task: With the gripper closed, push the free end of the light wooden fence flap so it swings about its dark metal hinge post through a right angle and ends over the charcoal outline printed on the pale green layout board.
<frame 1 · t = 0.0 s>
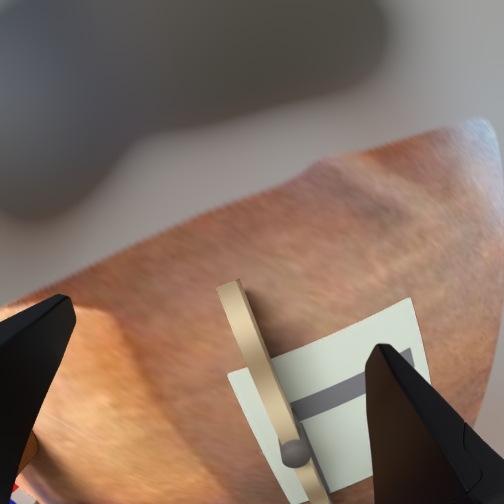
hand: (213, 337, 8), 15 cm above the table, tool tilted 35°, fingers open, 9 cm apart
disposable coffee cup: (20, 432, 21), on the table
puzzle toy: (15, 496, 20), on the table
fence flap: (264, 372, 18), point 4 cm above the table, hinge at 0.0°
fixed fence panel: (306, 461, 21), resting on layout board
layout board: (350, 416, 22), on the table
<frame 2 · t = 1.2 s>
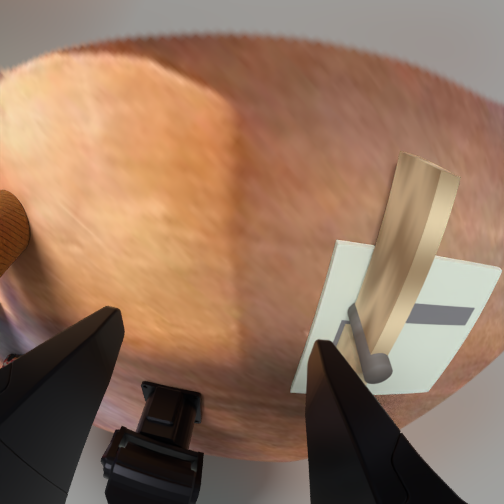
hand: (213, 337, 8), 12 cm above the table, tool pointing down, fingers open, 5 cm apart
disposable coffee cup: (10, 220, 21), on the table
fence flap: (397, 270, 16), point 4 cm above the table, hinge at 0.0°
fixed fence panel: (335, 357, 24), resting on layout board
layout board: (397, 335, 23), on the table
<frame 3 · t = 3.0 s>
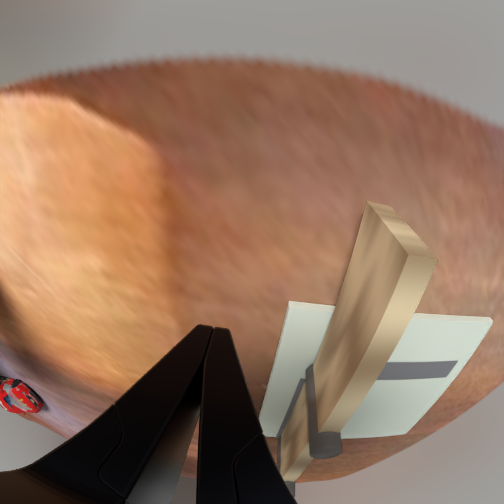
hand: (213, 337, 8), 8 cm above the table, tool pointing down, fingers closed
fence flap: (353, 350, 13), point 4 cm above the table, hinge at 0.0°
fixed fence panel: (298, 407, 22), resting on layout board
layout board: (367, 388, 21), on the table
race car: (17, 386, 30), on the table
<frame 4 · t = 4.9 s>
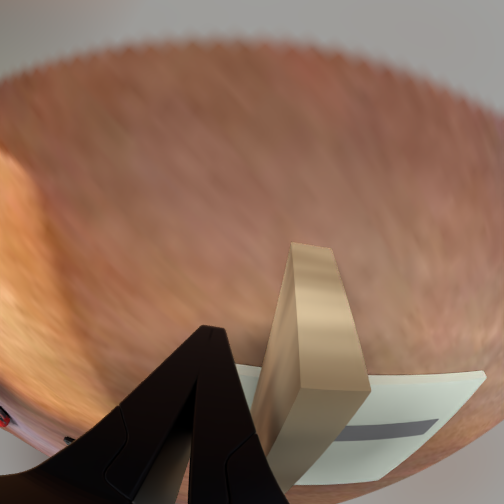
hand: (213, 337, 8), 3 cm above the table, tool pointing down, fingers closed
fence flap: (270, 440, 9), point 4 cm above the table, hinge at 0.9°, touching gripper
layout board: (324, 445, 16), on the table
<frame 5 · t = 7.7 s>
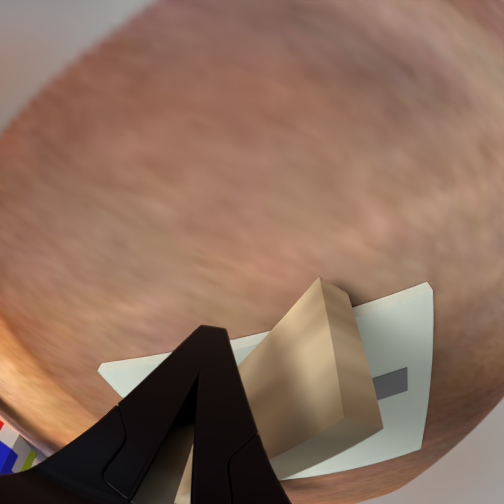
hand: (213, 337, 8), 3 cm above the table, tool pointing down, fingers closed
puzzle toy: (7, 429, 30), on the table
fence flap: (226, 443, 9), point 4 cm above the table, hinge at 53.6°, touching gripper
layout board: (291, 428, 15), on the table
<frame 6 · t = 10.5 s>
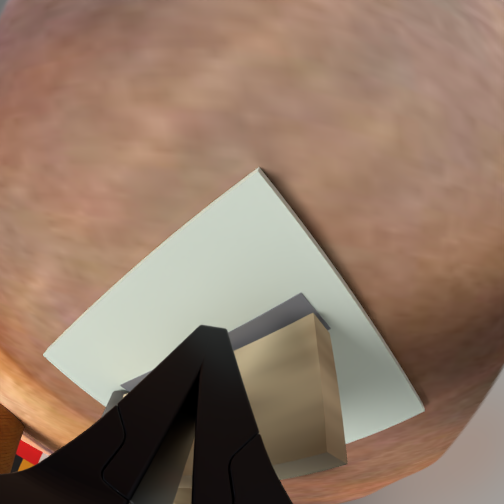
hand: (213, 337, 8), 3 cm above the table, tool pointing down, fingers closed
disposable coffee cup: (7, 412, 25), on the table
puzzle toy: (50, 459, 33), on the table
fence flap: (176, 436, 9), point 4 cm above the table, hinge at 91.4°, touching gripper
layout board: (230, 397, 14), on the table
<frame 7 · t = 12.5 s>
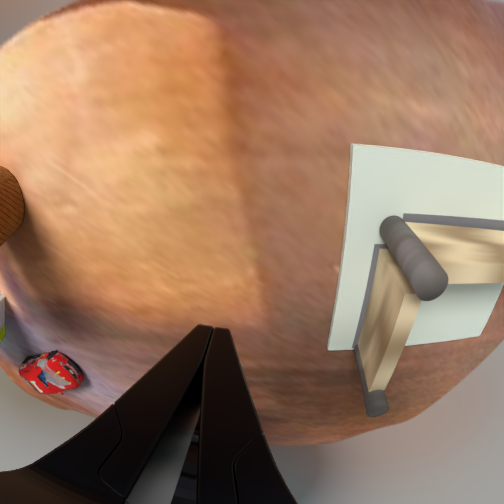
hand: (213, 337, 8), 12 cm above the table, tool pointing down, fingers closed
disposable coffee cup: (4, 198, 19), on the table
fence flap: (480, 255, 14), point 4 cm above the table, hinge at 91.6°
fixed fence panel: (373, 297, 21), resting on layout board
layout board: (439, 262, 19), on the table
race car: (53, 364, 31), on the table
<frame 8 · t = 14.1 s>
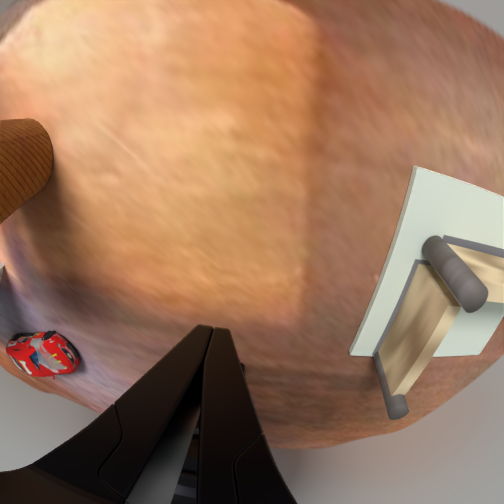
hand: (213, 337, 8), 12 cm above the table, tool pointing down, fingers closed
disposable coffee cup: (28, 155, 18), on the table
fence flap: (502, 280, 15), point 4 cm above the table, hinge at 91.6°
fixed fence panel: (400, 308, 22), resting on layout board
layout board: (460, 283, 20), on the table
race car: (45, 345, 29), on the table
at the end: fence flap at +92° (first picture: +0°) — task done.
